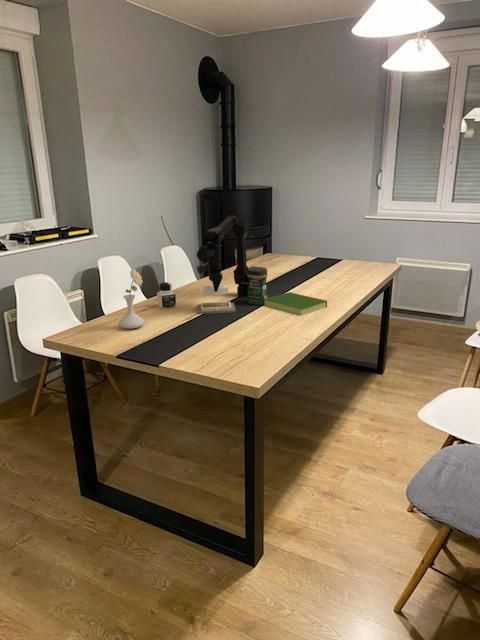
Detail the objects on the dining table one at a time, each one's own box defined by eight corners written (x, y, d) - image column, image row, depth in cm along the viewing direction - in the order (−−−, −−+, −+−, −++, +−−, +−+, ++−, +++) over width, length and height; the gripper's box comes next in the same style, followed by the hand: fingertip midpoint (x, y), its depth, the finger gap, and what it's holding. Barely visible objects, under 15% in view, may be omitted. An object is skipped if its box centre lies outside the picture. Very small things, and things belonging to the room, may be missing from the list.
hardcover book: (326, 308, 234) (327, 300, 232) (301, 316, 222) (301, 308, 220) (288, 299, 251) (288, 292, 250) (262, 306, 239) (262, 298, 238)
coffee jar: (245, 303, 242) (244, 267, 236) (253, 300, 248) (253, 264, 243) (261, 306, 237) (261, 269, 231) (269, 302, 243) (269, 266, 237)
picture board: (233, 304, 241) (233, 300, 240) (235, 312, 228) (235, 307, 228) (197, 306, 239) (197, 302, 239) (197, 314, 227) (197, 309, 226)
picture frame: (226, 290, 235) (225, 284, 234) (228, 293, 229) (227, 287, 229) (203, 292, 233) (203, 285, 232) (205, 295, 228) (204, 288, 227)
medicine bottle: (162, 309, 235) (160, 285, 232) (157, 306, 241) (156, 282, 238) (176, 307, 238) (174, 283, 235) (171, 303, 245) (169, 280, 241)
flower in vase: (132, 332, 203) (127, 274, 196) (113, 328, 209) (107, 271, 201) (153, 324, 214) (149, 268, 206) (134, 320, 220) (129, 265, 212)
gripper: (197, 254, 234) (198, 286, 239) (197, 262, 217) (198, 295, 221) (220, 253, 235) (221, 285, 240) (222, 261, 217) (223, 294, 222)
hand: (215, 290), depth 231 cm, fingers closed on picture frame, 6 cm apart
